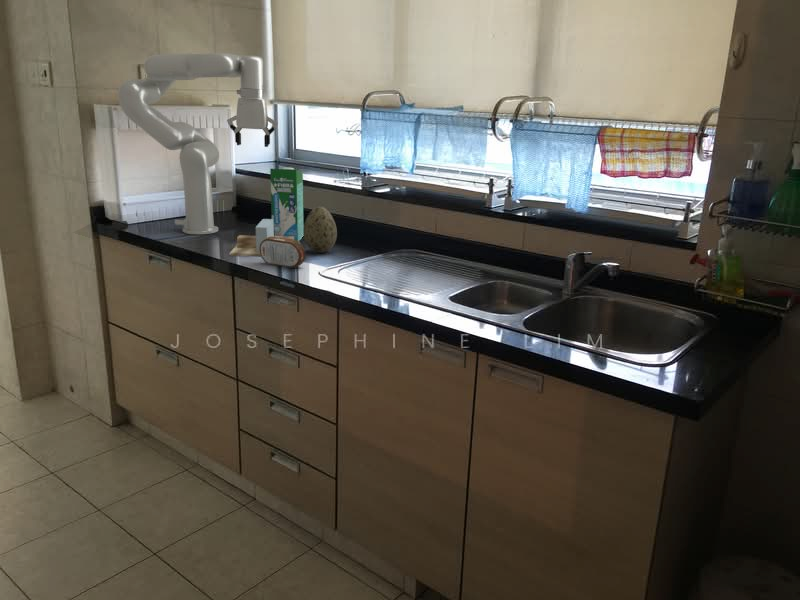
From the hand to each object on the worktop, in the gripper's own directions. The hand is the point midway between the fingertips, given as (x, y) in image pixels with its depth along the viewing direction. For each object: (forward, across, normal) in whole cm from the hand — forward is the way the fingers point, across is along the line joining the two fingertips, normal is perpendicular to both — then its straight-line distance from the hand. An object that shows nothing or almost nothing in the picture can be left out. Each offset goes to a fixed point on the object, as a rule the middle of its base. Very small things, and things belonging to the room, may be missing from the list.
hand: (252, 145), depth 237 cm
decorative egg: (+31, +28, -23) cm, 47 cm away
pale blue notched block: (+30, +9, -22) cm, 39 cm away
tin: (+31, +19, -42) cm, 55 cm away
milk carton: (+31, +14, -5) cm, 34 cm away
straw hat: (+31, +10, -22) cm, 39 cm away
